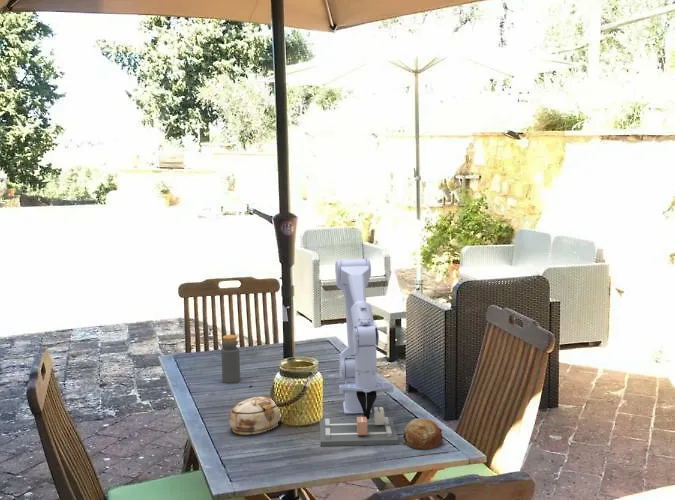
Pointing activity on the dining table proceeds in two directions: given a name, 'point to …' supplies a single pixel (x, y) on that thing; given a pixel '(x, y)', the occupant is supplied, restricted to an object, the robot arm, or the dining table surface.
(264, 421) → the trinket box
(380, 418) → the fader
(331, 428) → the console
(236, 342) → the bottle
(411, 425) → the bread roll
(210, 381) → the dining table surface
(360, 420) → the fader
